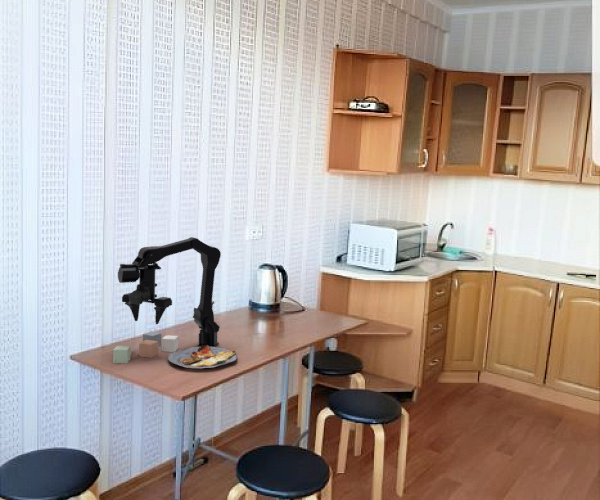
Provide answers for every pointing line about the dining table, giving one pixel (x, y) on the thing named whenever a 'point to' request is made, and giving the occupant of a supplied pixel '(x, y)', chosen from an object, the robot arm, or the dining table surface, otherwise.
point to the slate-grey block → (152, 337)
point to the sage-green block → (121, 354)
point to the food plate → (203, 357)
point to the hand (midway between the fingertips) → (146, 322)
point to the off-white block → (169, 343)
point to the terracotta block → (148, 348)
